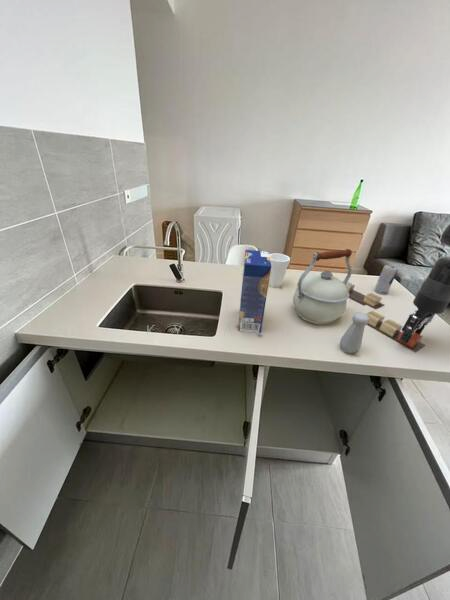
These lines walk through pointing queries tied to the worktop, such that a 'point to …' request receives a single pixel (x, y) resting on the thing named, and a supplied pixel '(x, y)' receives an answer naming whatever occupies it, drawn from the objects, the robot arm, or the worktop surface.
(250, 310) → the juice carton
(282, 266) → the foam cup
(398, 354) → the worktop surface
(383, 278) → the energy drink
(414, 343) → the s tile
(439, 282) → the robot arm
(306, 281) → the kettle
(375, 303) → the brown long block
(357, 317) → the salt shaker
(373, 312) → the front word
